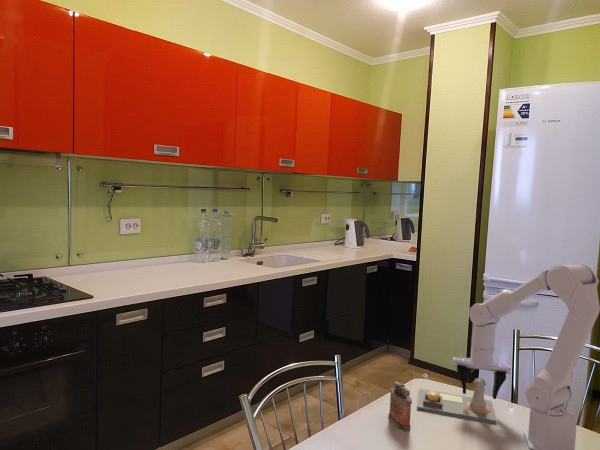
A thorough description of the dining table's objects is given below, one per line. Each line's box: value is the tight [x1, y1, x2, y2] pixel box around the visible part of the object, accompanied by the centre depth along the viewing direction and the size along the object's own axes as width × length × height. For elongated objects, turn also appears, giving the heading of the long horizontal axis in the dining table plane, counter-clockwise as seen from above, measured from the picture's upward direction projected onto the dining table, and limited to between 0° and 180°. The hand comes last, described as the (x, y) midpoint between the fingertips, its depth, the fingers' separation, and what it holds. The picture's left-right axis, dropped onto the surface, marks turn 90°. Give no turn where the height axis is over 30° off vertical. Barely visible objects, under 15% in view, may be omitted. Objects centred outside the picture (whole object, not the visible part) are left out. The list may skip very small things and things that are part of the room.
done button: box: [427, 390, 439, 402], centre depth 122 cm, size 3×3×2 cm
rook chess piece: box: [469, 377, 487, 411], centre depth 120 cm, size 4×4×8 cm
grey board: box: [416, 388, 497, 425], centre depth 123 cm, size 20×12×2 cm, turn 72°
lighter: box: [388, 381, 413, 432], centre depth 112 cm, size 8×3×10 cm, turn 17°
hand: (479, 394), depth 121 cm, fingers open, 7 cm apart
